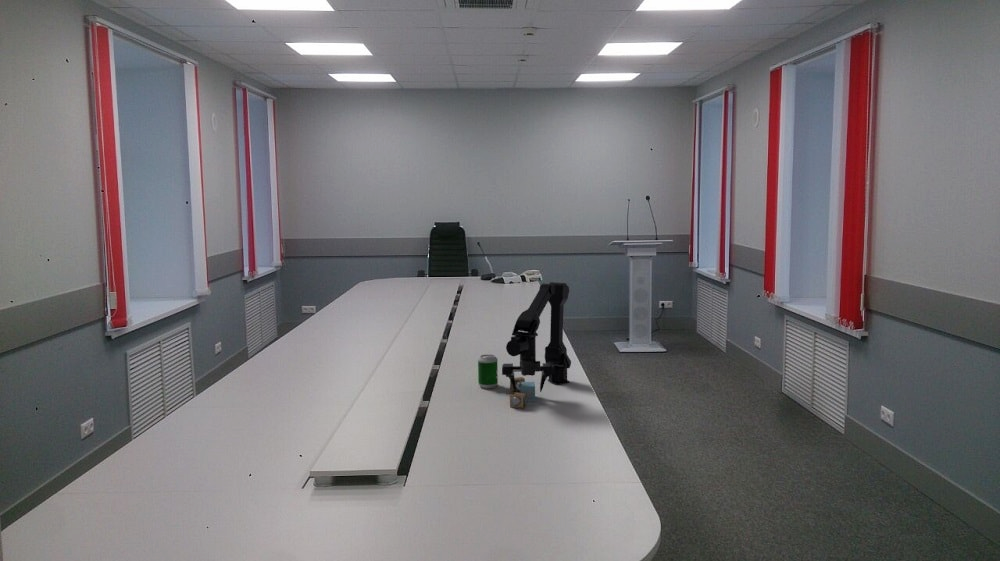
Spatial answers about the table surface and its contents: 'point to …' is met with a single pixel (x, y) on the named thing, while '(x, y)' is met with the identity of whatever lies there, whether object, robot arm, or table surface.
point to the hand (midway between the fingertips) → (528, 391)
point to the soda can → (487, 371)
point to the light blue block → (528, 390)
